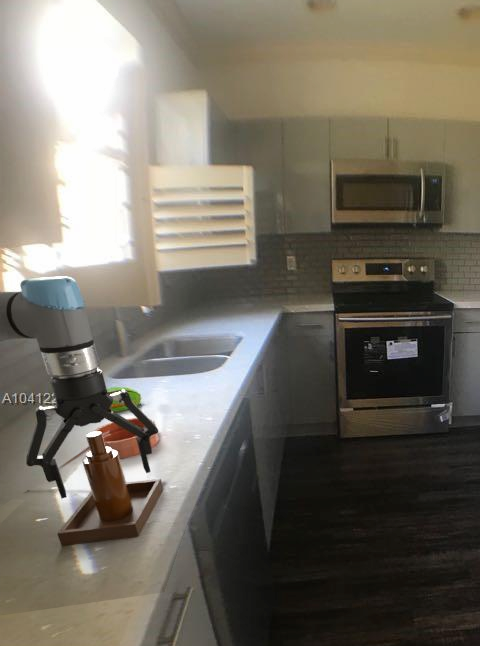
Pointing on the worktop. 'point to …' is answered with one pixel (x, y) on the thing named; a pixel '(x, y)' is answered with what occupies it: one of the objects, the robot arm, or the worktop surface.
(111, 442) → the bowl
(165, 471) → the worktop surface
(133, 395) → the corn
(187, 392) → the worktop surface
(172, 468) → the worktop surface
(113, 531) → the tray
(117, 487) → the bottle
